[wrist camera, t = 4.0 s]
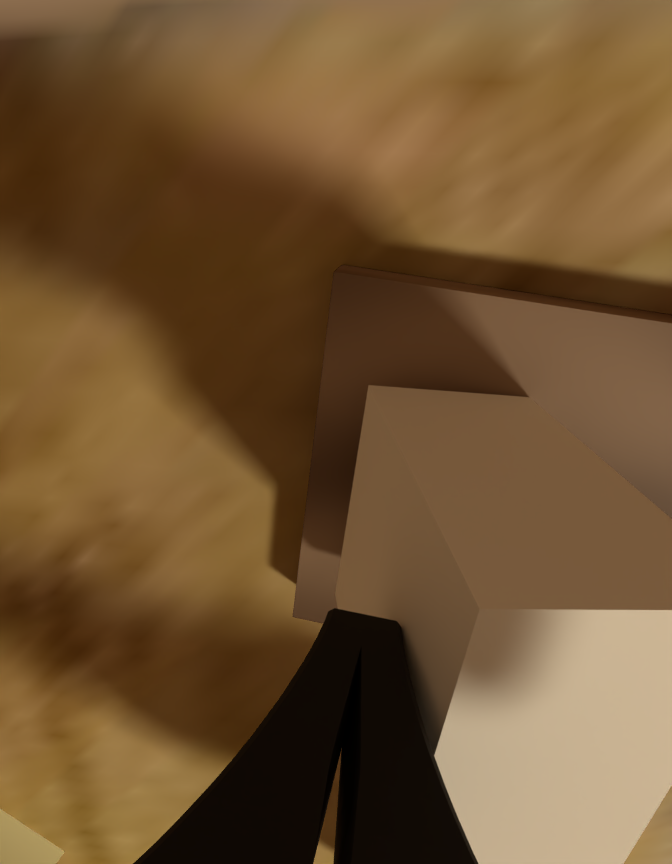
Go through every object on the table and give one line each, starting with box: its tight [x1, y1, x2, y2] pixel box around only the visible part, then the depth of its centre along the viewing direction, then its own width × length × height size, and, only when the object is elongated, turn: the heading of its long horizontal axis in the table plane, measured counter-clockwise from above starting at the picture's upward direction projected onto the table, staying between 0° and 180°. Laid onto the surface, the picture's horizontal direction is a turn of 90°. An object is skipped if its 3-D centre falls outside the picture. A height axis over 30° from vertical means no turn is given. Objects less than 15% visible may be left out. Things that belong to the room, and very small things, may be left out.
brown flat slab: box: [293, 265, 672, 623], centre depth 17 cm, size 12×16×2 cm
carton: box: [335, 385, 672, 864], centre depth 12 cm, size 7×4×8 cm, turn 173°
